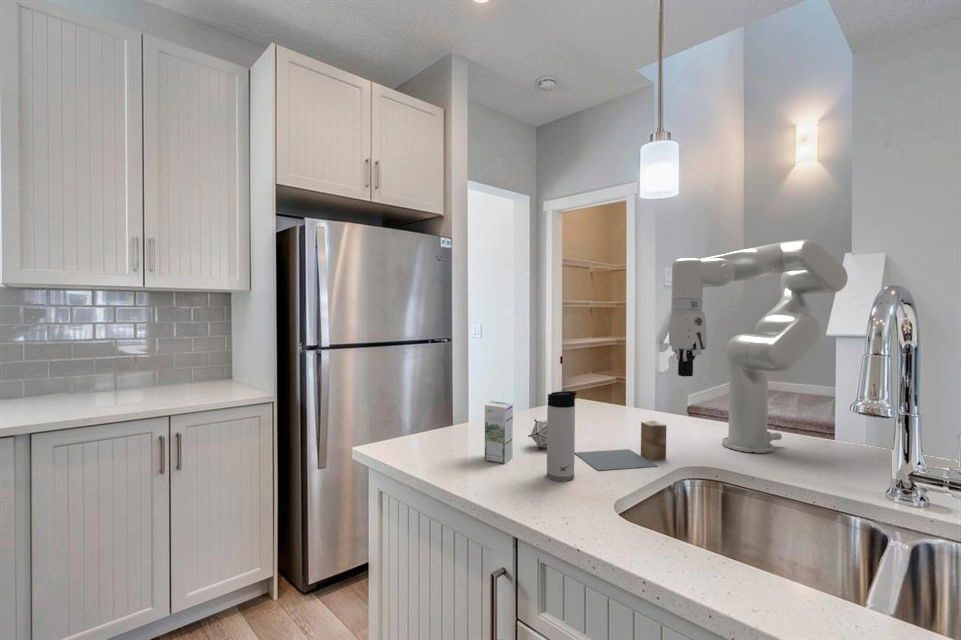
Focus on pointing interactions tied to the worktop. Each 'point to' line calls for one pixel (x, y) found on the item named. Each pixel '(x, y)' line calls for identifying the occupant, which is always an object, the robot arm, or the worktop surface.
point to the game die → (540, 433)
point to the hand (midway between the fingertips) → (685, 375)
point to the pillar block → (653, 440)
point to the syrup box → (498, 431)
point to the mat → (614, 459)
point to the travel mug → (561, 435)
